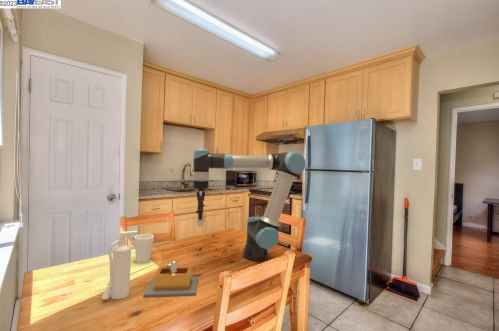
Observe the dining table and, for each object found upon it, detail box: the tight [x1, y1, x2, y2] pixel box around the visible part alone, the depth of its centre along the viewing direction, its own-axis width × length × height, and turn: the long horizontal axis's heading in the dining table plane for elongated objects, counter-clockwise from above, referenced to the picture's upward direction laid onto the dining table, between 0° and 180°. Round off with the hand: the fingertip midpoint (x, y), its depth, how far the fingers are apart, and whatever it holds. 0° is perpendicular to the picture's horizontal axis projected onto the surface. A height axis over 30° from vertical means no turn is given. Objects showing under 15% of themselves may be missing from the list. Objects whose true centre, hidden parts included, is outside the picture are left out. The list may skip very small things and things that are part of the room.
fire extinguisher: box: [101, 230, 139, 300], centre depth 92 cm, size 7×12×25 cm, turn 144°
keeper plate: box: [143, 275, 199, 298], centre depth 101 cm, size 20×14×1 cm
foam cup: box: [133, 233, 155, 264], centre depth 125 cm, size 10×9×13 cm
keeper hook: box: [164, 260, 178, 274], centre depth 100 cm, size 5×2×10 cm, turn 99°
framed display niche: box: [154, 266, 193, 290], centre depth 101 cm, size 14×8×6 cm, turn 99°
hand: (200, 222), depth 117 cm, fingers open, 13 cm apart
